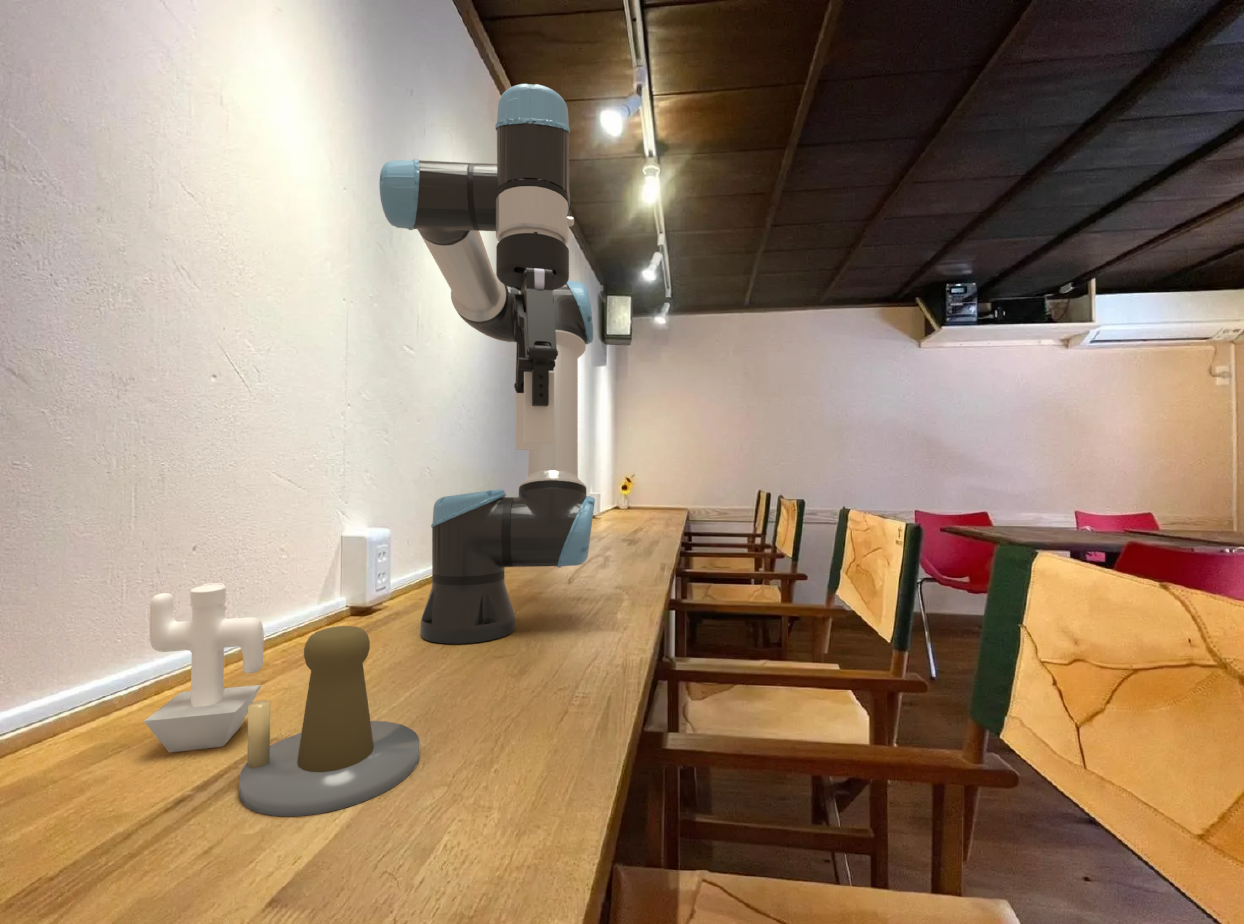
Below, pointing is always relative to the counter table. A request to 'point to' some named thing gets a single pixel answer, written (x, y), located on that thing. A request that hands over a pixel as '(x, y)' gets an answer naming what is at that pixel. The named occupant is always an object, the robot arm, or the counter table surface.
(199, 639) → the figurine
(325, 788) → the coaster plate
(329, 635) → the brown rounded upright piece
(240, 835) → the counter table surface
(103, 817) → the counter table surface
